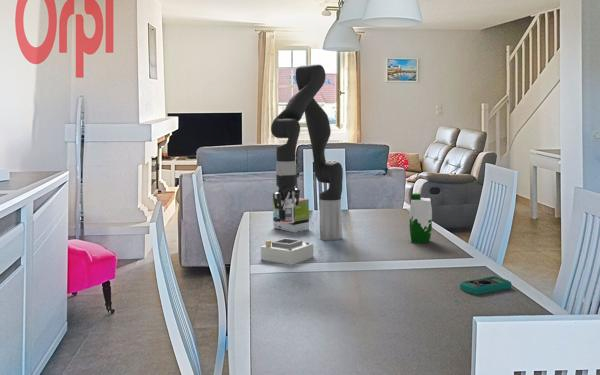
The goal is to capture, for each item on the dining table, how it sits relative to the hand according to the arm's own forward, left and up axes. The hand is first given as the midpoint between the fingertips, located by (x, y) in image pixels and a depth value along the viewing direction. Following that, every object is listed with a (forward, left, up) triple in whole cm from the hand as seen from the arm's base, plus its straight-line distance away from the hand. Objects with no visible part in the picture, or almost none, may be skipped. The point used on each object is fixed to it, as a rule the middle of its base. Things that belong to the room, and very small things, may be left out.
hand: (287, 218), depth 217 cm
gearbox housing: (0, 0, -15) cm, 15 cm away
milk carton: (-53, +30, -15) cm, 63 cm away
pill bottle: (0, 0, -2) cm, 2 cm away
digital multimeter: (-2, +74, -16) cm, 75 cm away
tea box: (-46, -32, -15) cm, 58 cm away
